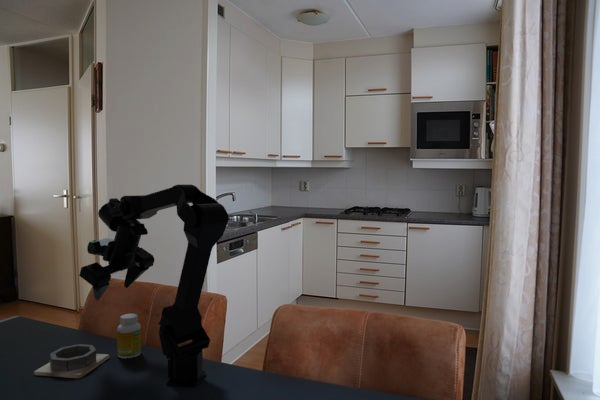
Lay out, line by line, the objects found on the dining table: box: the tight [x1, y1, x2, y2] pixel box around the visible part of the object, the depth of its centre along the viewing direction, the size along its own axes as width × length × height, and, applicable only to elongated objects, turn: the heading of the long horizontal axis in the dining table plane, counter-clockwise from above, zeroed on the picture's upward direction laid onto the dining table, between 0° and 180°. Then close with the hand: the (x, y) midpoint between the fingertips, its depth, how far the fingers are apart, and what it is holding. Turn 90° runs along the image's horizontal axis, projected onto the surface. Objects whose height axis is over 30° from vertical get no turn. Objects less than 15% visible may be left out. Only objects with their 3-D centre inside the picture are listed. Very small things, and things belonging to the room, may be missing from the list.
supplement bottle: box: [116, 313, 142, 360], centre depth 105 cm, size 5×5×10 cm
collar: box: [33, 343, 110, 379], centre depth 99 cm, size 11×11×3 cm
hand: (111, 293), depth 110 cm, fingers open, 9 cm apart
